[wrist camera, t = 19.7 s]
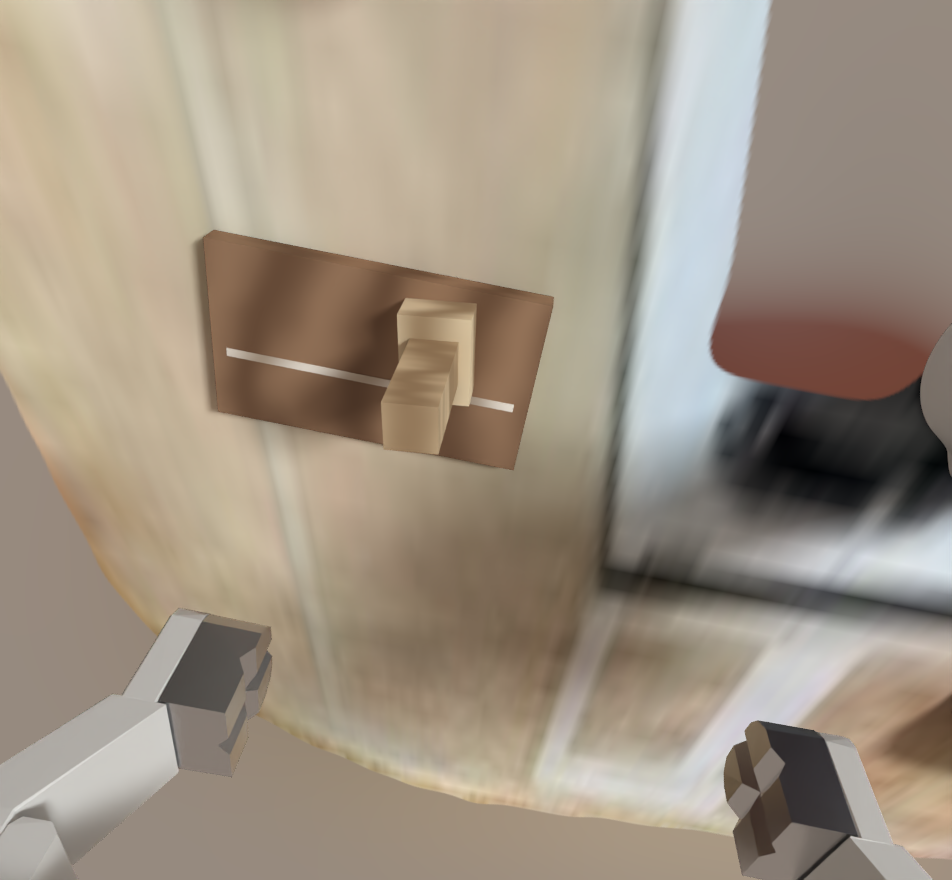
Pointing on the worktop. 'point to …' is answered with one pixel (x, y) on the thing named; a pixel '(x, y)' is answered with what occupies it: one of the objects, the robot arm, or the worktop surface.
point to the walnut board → (359, 343)
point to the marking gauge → (429, 373)
